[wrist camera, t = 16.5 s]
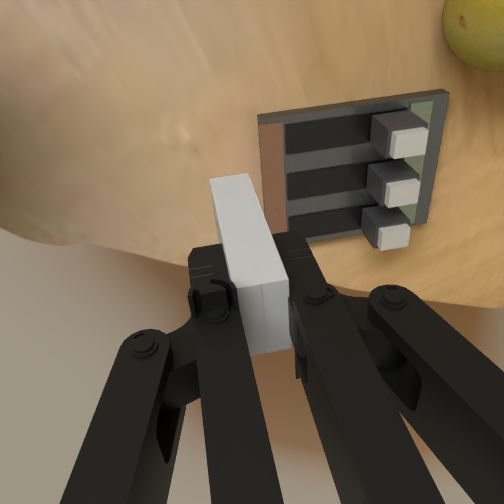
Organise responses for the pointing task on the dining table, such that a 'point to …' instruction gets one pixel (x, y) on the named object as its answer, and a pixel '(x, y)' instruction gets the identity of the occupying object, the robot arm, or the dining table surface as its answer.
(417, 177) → the breaker mid row
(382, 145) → the breaker far row
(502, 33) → the fruit
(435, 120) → the panel
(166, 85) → the dining table surface
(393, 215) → the block
